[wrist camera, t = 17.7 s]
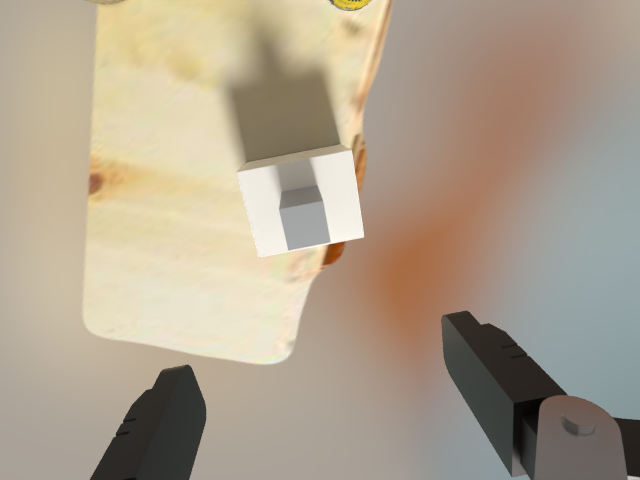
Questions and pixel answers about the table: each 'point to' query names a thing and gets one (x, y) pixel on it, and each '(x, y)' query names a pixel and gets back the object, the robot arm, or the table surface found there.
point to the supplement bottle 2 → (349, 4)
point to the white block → (301, 200)
